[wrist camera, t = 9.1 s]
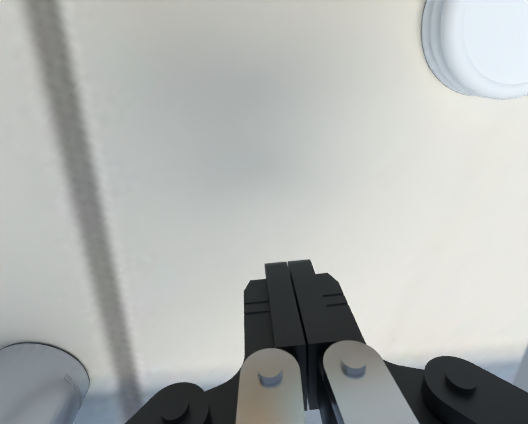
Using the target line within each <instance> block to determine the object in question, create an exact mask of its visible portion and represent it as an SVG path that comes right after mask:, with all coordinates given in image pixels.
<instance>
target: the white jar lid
mask: <svg viewBox="0 0 528 424" xmlns="http://www.w3.org/2000/svg"><path fill="white" fill-rule="evenodd" d="M422 43H423V49H424V53H425V57H426V59H427V62H428V64H429V66H430V68H431V70H432V71H433V73H434V74H435V75H436V77H437V78H438V79H439V80H440V81H441V82H442V83H444V84H445V85H446V86H447V87H449V88H450V89H452V90H454V91H456V92H459V93H461V94H465V95H469V96H478V97H484V98H491V99H501V100H503V99H513V98H518V97H522V96H526V95H528V0H427V2H426V5H425V10H424V14H423V21H422Z"/></svg>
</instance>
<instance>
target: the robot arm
mask: <svg viewBox="0 0 528 424" xmlns="http://www.w3.org/2000/svg"><path fill="white" fill-rule="evenodd" d="M265 274H266V279H261V280H250V282H249V283H248V285H247V287H246V289H245V290H244V333H245V358H244V362H243V364H242V367H241V368H240V370H239V371H238V372H237V374H236V375H235V376H234V377H233V378H231V379H230V380H229V381H227V382H226V383H223V384H221V385H219V386H217V387H215V388H212V389H210V390H207V391H205V392H204V391H203V389H202V388H200V387H199V386H197V385H195V384H193V383H187V382H181V383H175V384H172V385H169V386H167V387H165V388H163V389H162V390H160V391H159V392H158V393H156V394H155V395H154V396H153V397H152V398H151V399H150V400H149V401H148V402H147V403H146V404H145V405H144V406H143V407H142V408H141V409H140V410H139V411H138V412H137V413H136V414H135V415H134V416H133V417H131V418H130V419H129V420H128V421H127V422H126V423H125V424H306V422H305V413H304V411H306V410H307V399H308V404H309V409H310V410H314V409H319V410H320V414H321V419H322V423H323V424H528V393H527V392H525V391H524V390H522V389H520V388H518V387H516V386H514V385H512V384H510V383H509V382H507V381H505V380H503V379H501V378H499V377H497V376H495V375H494V374H492V373H490V372H488V371H486V370H484V369H482V368H480V367H478V366H477V365H475V364H473V363H471V362H469V361H466V360H464V359H461V358H457V357H452V356H441V357H436V358H434V359H432V360H430V361H429V362H428V363H427V365H426V366H425V370H422V369H416V368H410V367H405V366H399V365H395V364H392V363H389V362H387V361H385V360H383V359H382V358H381V356H380V355H379V354H378V353H377V352H376V351H375V350H374V349H373V348H371V347H370V346H368V345H366V343H365V341H364V339H363V336H362V334H361V332H360V330H359V327H358V325H357V323H356V321H355V318H354V316H353V314H352V312H351V309H350V307H349V305H348V303H347V301H346V298H345V296H344V295H343V292H342V289H341V287H340V285H339V283H338V281H336V280H335V279H334V278H333V277H332V276H331V275H329V274H328V273H322V274H315V272H314V269H313V266H312V263H311V261H310V259H308V260H298V261H288V266H287V262H277V263H267V264H265ZM88 388H89V379H88V375H87V373H86V371H85V369H84V368H83V366H82V365H81V364H80V363H79V362H78V361H77V360H76V359H74V358H73V357H72V356H70V355H69V354H67V353H65V352H63V351H61V350H59V349H56V348H53V347H51V346H47V345H41V344H31V343H24V344H15V345H12V346H8V347H5V348H3V349H1V350H0V424H72V423H73V421H74V419H75V417H76V415H77V413H78V410H79V409H80V407H81V405H82V402H83V400H84V398H85V395H86V393H87V391H88Z"/></svg>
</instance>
